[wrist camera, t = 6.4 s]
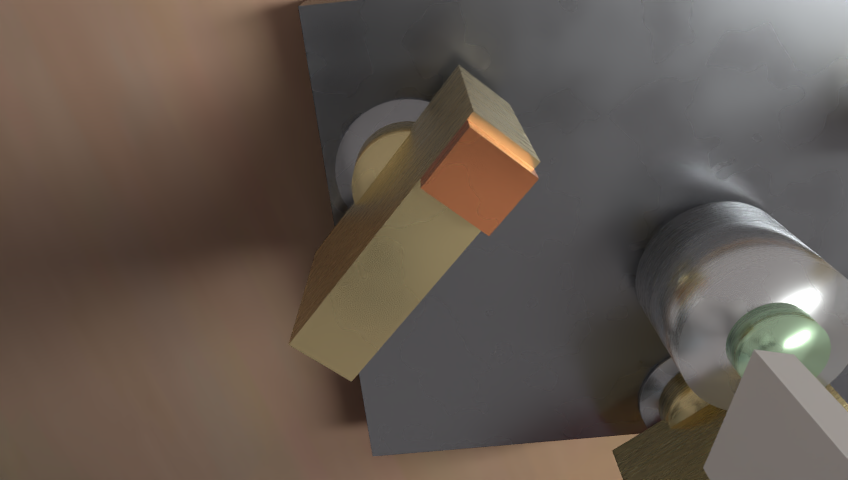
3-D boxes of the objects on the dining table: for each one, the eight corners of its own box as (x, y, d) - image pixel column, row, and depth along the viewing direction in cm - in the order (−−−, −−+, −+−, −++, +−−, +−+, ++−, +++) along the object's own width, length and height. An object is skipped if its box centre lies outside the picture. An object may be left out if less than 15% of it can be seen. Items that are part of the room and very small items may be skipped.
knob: (383, 284, 22) (373, 411, 16) (299, 230, 21) (258, 343, 15) (525, 112, 20) (570, 190, 14) (437, 44, 19) (447, 97, 13)
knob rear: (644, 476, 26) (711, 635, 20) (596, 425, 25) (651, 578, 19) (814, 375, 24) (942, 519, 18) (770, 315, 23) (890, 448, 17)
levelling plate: (377, 434, 27) (367, 582, 21) (308, -2, 20) (263, 31, 14) (983, 382, 27) (1153, 519, 21) (1127, -87, 20) (1450, -91, 14)
